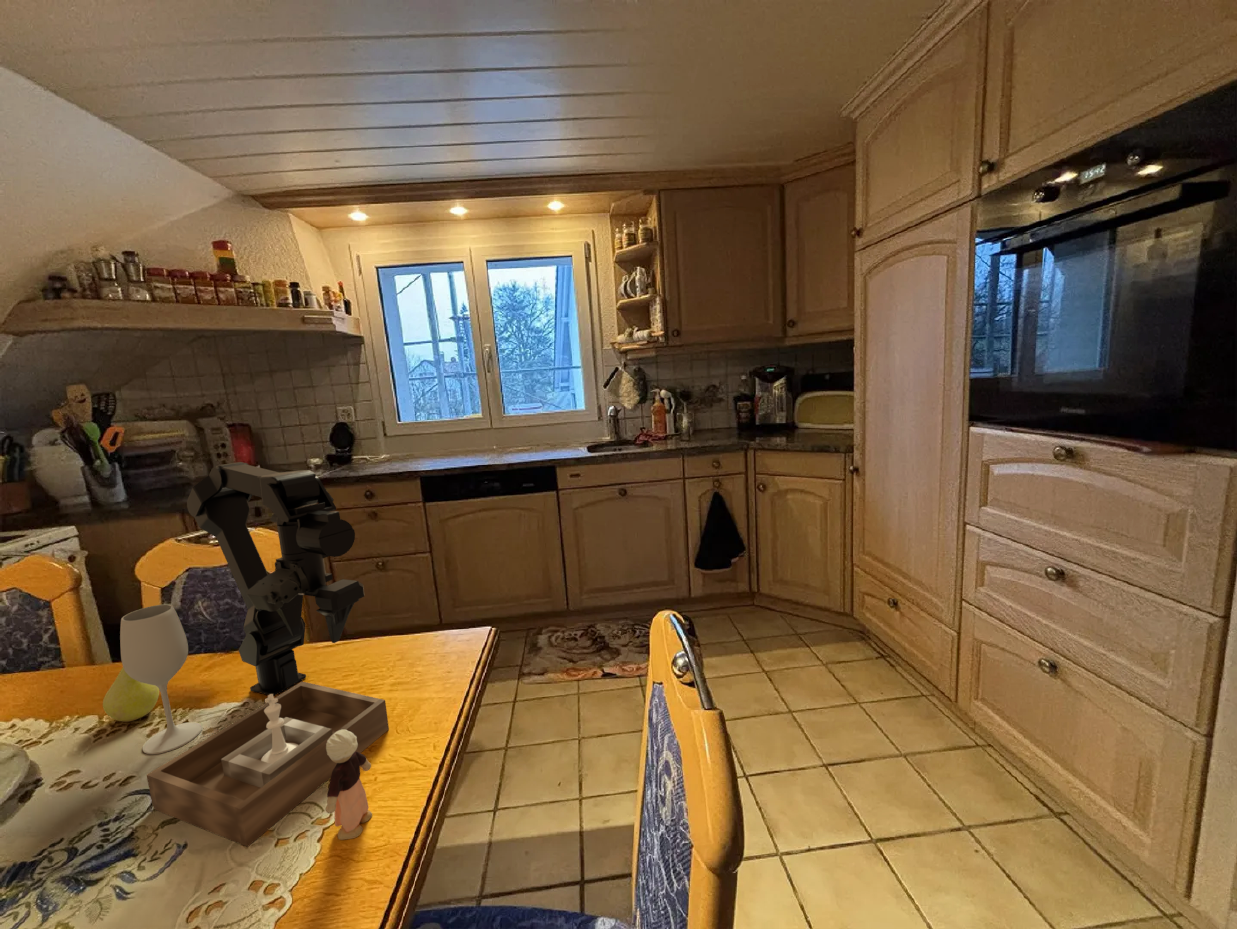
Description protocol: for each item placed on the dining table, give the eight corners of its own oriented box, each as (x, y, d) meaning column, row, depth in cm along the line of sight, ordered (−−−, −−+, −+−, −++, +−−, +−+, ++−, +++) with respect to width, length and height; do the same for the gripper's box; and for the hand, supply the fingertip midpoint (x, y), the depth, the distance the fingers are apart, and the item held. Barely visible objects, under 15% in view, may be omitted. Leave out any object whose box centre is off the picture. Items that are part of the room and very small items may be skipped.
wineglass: (151, 761, 77) (123, 628, 74) (133, 744, 81) (105, 617, 78) (212, 731, 84) (188, 607, 80) (192, 717, 88) (168, 598, 84)
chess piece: (282, 773, 72) (271, 706, 71) (251, 770, 73) (240, 704, 71) (309, 748, 77) (299, 685, 75) (280, 745, 78) (269, 683, 76)
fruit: (99, 725, 87) (83, 658, 85) (152, 699, 94) (139, 636, 92) (123, 733, 84) (108, 664, 82) (176, 705, 91) (163, 641, 89)
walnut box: (153, 809, 68) (146, 774, 67) (306, 708, 88) (301, 681, 88) (247, 846, 62) (240, 809, 61) (388, 729, 82) (385, 700, 81)
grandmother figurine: (350, 804, 67) (336, 715, 65) (380, 801, 68) (368, 712, 66) (321, 858, 60) (305, 758, 58) (356, 854, 60) (341, 755, 58)
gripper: (211, 561, 81) (228, 654, 84) (297, 571, 74) (312, 672, 77) (279, 539, 91) (292, 623, 94) (360, 546, 85) (372, 637, 87)
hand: (315, 638), depth 88 cm, fingers open, 9 cm apart
